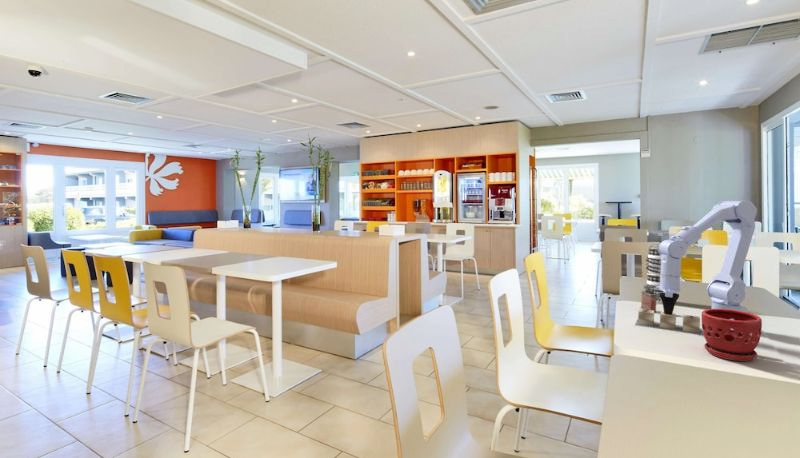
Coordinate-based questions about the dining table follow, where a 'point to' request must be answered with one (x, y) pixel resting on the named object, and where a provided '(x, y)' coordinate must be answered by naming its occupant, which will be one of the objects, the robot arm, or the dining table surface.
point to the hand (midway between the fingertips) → (668, 314)
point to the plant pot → (731, 333)
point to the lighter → (648, 299)
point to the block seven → (646, 317)
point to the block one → (691, 323)
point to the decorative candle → (654, 270)
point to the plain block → (668, 320)
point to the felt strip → (678, 329)
